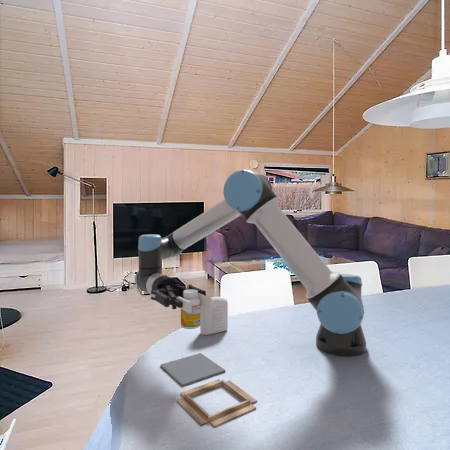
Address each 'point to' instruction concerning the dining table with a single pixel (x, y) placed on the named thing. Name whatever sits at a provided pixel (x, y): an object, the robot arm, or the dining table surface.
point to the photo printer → (214, 317)
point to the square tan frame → (223, 415)
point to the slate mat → (192, 369)
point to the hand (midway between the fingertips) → (200, 305)
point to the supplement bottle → (192, 318)
